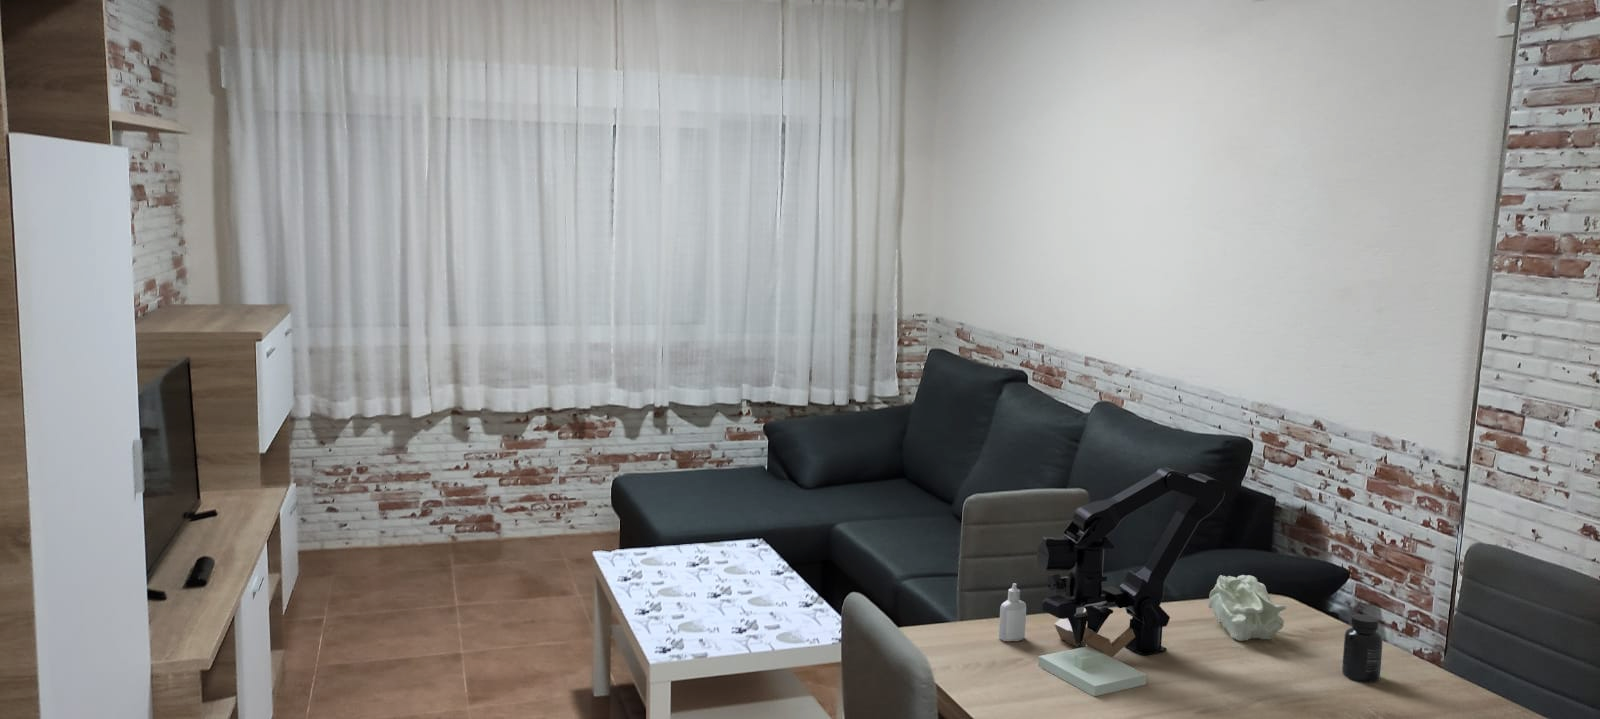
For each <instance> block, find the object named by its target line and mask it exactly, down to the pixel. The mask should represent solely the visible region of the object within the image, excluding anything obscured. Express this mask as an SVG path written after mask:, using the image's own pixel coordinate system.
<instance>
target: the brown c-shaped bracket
mask: <svg viewBox="0 0 1600 719" xmlns="http://www.w3.org/2000/svg"><path fill="white" fill-rule="evenodd" d="M1084 614H1085V615H1087V611H1086V609H1085V607H1084ZM1054 627H1055V630H1056V632H1057V633H1058V636H1059V638H1060V639H1061V640H1063V641H1065V642H1067V643H1069V644H1071V645H1073V646H1076V647H1078V646H1079V645H1080V644H1077V643H1076V641H1075V638H1074V634H1073V631H1072V628H1071V625H1070V622H1069V620H1068V618H1065V619H1060V618H1059V619H1058V620H1057V621H1056V622H1055V623H1054ZM1134 638H1135V635H1134V632H1133V630H1132V629H1130V628H1129V627H1127V629H1126V630H1124V631H1123V633H1121V634H1120V635H1119V636H1117V638H1115V639H1114V641H1112V642H1111V640H1110V639H1109V638H1108V637H1105V636H1103V635H1101V634H1099V633H1095V632H1094V631H1093V630H1091V629H1089V628H1087V626H1086V628H1085V632H1084V636H1083V639H1082V642H1084V643H1085V645H1086V647H1087V646H1090V647H1092V648H1094V649H1096V650H1098V651H1100V652H1102V653H1104V654H1106V655H1108V656H1110V657H1112V658H1114V657H1115V656H1116V655H1117V654H1118V653H1119V652H1120V651H1122V649H1124V648H1126V647H1125V646H1126V645H1127V644H1128V643H1129V642H1130V641H1131V640H1132V639H1134Z"/></svg>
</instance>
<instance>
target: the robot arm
mask: <svg viewBox="0 0 1600 719" xmlns="http://www.w3.org/2000/svg"><path fill="white" fill-rule="evenodd" d="M1172 491H1175V492H1178V500H1177V509H1176V511H1175V514H1174V515H1173V517H1172V518H1171V520H1170V522H1169V524H1168V525H1167V526H1166V529H1165V530H1164V532H1163V533H1162V535H1161V537H1160V539H1159V540H1158V542H1157V544H1156V546H1155V547H1154V549H1153V551H1152V552H1151V554H1150V556H1149V558H1148V559H1147V561H1146V562H1145V564H1144V566H1143V567H1142V568H1141V569H1140V570H1139V571H1137V572H1133V571H1132V570H1129V571H1128V572H1127V574H1126V576H1125V579H1124V581H1123V582H1122V583H1121V584H1120V585H1119V586H1118V587H1119V588H1117V587H1114V586H1112V585H1111V586H1106V587H1103V582H1107V579H1108V575H1106V574H1104V573H1103V572H1104V562H1105V561H1104V559H1105V558H1104V557H1105V550H1106V549H1107V550H1109V549H1110V550H1111V549H1115V548H1116V545H1115V544H1113V543H1112V542H1111V540H1110V539H1109V537H1108V535H1111V533H1112V532H1113V531H1115V529H1117V527H1118V526H1119V525H1120V523H1121V521H1122V520H1124V518H1126V517H1128V516H1129V515H1131V514H1133V513H1134V512H1136V511H1138V510H1140V509H1142V508H1143V507H1145V506H1147V505H1148V504H1150V503H1152V502H1155V500H1158V499H1159V498H1161V497H1163V496H1164V495H1166V494H1168V493H1170V492H1172ZM1225 494H1226V493H1225V488H1224V485H1223V484H1222V483H1221V482H1220V481H1219V480H1217V479H1215V478H1213V477H1210V476H1208V475H1206V474H1203V473H1200V472H1194V473H1192V474H1191V473H1190V474H1187V473H1184V472H1181V471H1177V470H1173V469H1171V468H1169V467H1167V466H1165V467H1161V468H1158V469H1157V470H1156V471H1155V472H1154V473H1152V474H1150V475H1148V476H1147V477H1145V478H1143V479H1141V480H1140V481H1138V482H1135V484H1133V485H1131V486H1129V487H1127V488H1126V489H1124V490H1123V491H1121V492H1119V493H1116V494H1115V495H1114V496H1112V497H1109V498H1106V499H1101V500H1096V501H1092V502H1089V503H1086V504H1084V505H1082V506H1079V507H1078V508H1076V509H1075V511H1074V514H1073V517H1072V519H1071V520H1070V521H1069V522H1068V525H1066V527H1065V528H1064V530H1063V531H1062V532H1061V533H1060V535H1061V536H1053V537H1052V536H1043V537H1042V540H1041V541H1042V542H1040V543H1039V546H1038V548H1037V550H1036V559H1037V565H1038V567H1039V570H1040V571H1042V572H1053V571H1069V572H1068V576H1061V574H1059V573H1055V574H1048V576H1047V582H1046V584H1047V589H1048V590H1049V591H1054V594H1055V595H1054V596H1053V595H1052V596H1049V597H1047V596H1046V598H1044V599H1043V600H1042V611H1043V612H1045V613H1047V614H1049V615H1051V616H1053V617H1055V618H1057V619H1059V620H1060V619H1067V620H1069V622H1070V625H1071V628H1072V631H1073V634H1074V638H1075V641H1076V643H1077V644H1079V645H1081V644H1082V643H1083V641H1082V639H1083V636H1084V632H1085V628H1086V627H1087V628H1089V629H1091V630H1093V631H1094V632H1095V633H1097V634H1099V632H1100V630H1101V628H1102V626H1103V625H1104V623H1105V622H1106V621H1107V620H1108V618H1109V616H1110V615H1112V614H1113V613H1114V610H1113V609H1111V608H1110V607H1109V606H1110V604H1109V603H1114V605H1115V607H1117V608H1118V609H1125V611H1126V613H1127V615H1130V616H1131V617H1132V618H1130V619H1129V627H1128V628H1130V629H1132V630H1133V632H1134V635H1135V638H1134V639H1132V640H1131V641H1130V642H1129V643H1128V644H1127V645H1126V646H1125V647H1124V648H1127V649H1128V650H1129V649H1130V651H1131V650H1132V651H1134V652H1135V653H1138V654H1140V655H1142V656H1149V655H1154V654H1158V653H1164V652H1167V649H1168V648H1167V647H1164V646H1162V641H1163V640H1162V639H1163V638H1162V637H1163V627H1167V626H1168V624H1169V621H1170V618H1171V617H1170V615H1169V614H1168V613H1167V612H1166V611H1165V610H1164V609H1163V608H1162V607H1161V606H1160V605H1161V604H1162V602H1163V599H1164V594H1165V593H1164V592H1165V591H1164V590H1165V581H1166V579H1167V578H1168V576H1169V574H1170V572H1171V571H1172V569H1173V567H1174V565H1175V563H1177V560H1178V558H1180V555H1181V553H1182V552H1183V550H1184V549H1185V547H1186V545H1187V543H1188V542H1189V540H1190V539H1191V536H1192V535H1193V533H1194V532H1195V530H1196V529H1197V526H1198V524H1199V523H1200V522H1201V521H1203V519H1205V518H1207V517H1208V516H1210V515H1211V514H1213V513H1214V512H1215V510H1216V509H1217V508H1218V507H1219V505H1220V504H1221V503H1222V501H1223V500H1224V498H1225ZM1078 533H1081V534H1082V535H1080V534H1078ZM1072 568H1073V570H1071V569H1072ZM1059 593H1060V594H1061V593H1065V596H1067V597H1071V598H1072V599H1068V598H1066V597H1063V596H1061V595H1058V594H1059ZM1084 608H1085V609H1086V611H1087V615H1085V614H1084Z"/></svg>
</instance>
